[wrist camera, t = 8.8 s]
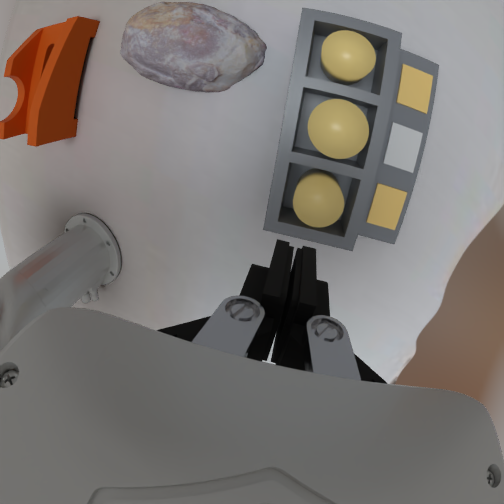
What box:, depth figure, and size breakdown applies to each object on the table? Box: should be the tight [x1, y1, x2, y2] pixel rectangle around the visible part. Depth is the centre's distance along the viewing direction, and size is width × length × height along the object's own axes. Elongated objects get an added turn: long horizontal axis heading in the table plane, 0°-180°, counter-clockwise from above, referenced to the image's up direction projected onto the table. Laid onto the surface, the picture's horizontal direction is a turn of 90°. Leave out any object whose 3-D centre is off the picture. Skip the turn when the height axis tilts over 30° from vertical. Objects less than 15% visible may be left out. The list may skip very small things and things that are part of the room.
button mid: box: [308, 99, 369, 159], centre depth 21 cm, size 5×5×5 cm
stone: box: [120, 2, 267, 92], centre depth 24 cm, size 17×10×10 cm
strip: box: [358, 49, 439, 244], centre depth 25 cm, size 22×5×1 cm, turn 171°
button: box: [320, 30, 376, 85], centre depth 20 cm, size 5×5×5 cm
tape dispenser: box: [0, 16, 100, 146], centre depth 25 cm, size 18×13×8 cm
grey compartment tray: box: [263, 8, 402, 251], centre depth 24 cm, size 22×9×6 cm, turn 171°
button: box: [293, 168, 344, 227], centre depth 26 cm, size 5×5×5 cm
